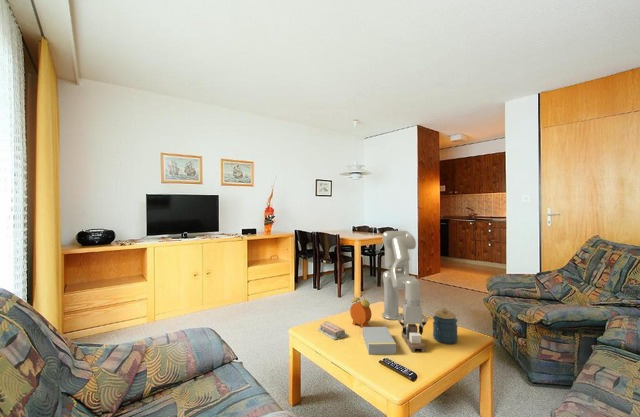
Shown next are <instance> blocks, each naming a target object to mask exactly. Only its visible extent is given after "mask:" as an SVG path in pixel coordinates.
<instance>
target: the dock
mask: <svg viewBox="0 0 640 417" xmlns="http://www.w3.org/2000/svg"><path fill="white" fill-rule="evenodd" d="M362 337H363V341H364V344H365V347H366V349H367V353H368V355H397V342H396V341H395V340H394V338H393V336H392V335H391V332H390V331H389V328H388V327H387V326H369V327H363V328H362Z"/></svg>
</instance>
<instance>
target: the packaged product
mask: <svg viewBox="0 0 640 417" xmlns="http://www.w3.org/2000/svg"><path fill="white" fill-rule="evenodd" d="M316 330H317V331H318V330H319V331H318V332H320V333H321V332H322V334H323V335H324V336H326V337H329V338H330V339H331V340H333V341H338V340H340V339H342V338H346V337H348V333H346V331H345V329H344V328H341V327H340V326H337V325H336V324H334V323H332V322H330V321H324V322H323V323H321V324H320V325H319V327H318V328H316Z"/></svg>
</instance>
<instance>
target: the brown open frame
mask: <svg viewBox="0 0 640 417" xmlns="http://www.w3.org/2000/svg"><path fill="white" fill-rule="evenodd" d="M407 326H408V337H407V336H406V335H405V334H404V333H403V330H401V337H402V339H403V341H404V342H405V344H406V345H407V347H408V348H409V350H410V352H411V353H416V349H418V350H420V351H421V352H422V353H426V345H425V344H424V343H423V341H422V340H421V343H411V342H410V340H409V333H417V332H419V327H418V326H417V324H407Z"/></svg>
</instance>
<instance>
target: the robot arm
mask: <svg viewBox="0 0 640 417" xmlns="http://www.w3.org/2000/svg"><path fill="white" fill-rule="evenodd" d="M381 238H382V244H383V247H384V266H385V268H387V269H390V270H385V271H384V272H383V273H382V281H383V292H384V294H383V299H384V301H383V304H384V305H383V308H384V309H383V312H382V313H381V314H382V315H381V316H382V318H383V319H386V320H390V321H392V320H393V321H396V320H397V321H398V323H399V325H400V326H401V327H402V331H403V333H404V334H405V335H406V327H407V326H408V324H416V325H417V324H419V325H418V332H419V334H420V335H421V336H422V335H423V333H424V326H426V325H427V323H428V321H429V319H428V318H427V317H426V316H425V315H423V310H422V304H421V303H423V300H422V299H421V298H420V297H421V296H420V295H421V294H420V281H419V280H418V279H417V278H416V276H414V275H410V262H409V261H410V260H411V259H410V254H409V250H415V249H416V247H417V242H416V239H415V237H414V235H413V234H412V233H410V232H409V231H408V230H386V231H384V232H383V233H382V236H381ZM399 290H404V294H405V296H404V297H405V298H404V300H405V302H404V303H403V306H402V315H401V313H399V309H400V308H399ZM402 320H403V321H402Z"/></svg>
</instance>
